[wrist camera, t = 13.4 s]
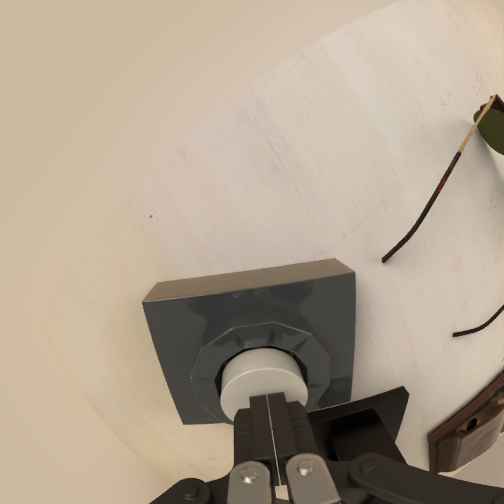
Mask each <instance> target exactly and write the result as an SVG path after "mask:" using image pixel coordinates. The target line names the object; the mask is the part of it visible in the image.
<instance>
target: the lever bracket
mask: <svg viewBox="0 0 504 504" xmlns="http://www.w3.org/2000/svg"><path fill="white" fill-rule="evenodd" d="M408 398H409V393H408V391H407V390H406V389H405V388H404V386H402V387H399V388H396V389H393V390H390V391H388V392H385V393H382V394H378V395H375V396H372V397H369V398H366V399H362V400H359V401H355V402H352V403H348V404H344V405H340V406H336V407H332V408H328V409H324V410H319V411H315V412H310V413H307V416H308V419H309V422H310V425H311V429H312V432H313V435H314V438H315V442H316V445H317V448H318V451H319V453H320V454H321V455H322V456H323V457H324V458H326V459H328V460H331V461H352V460H353V459H354V458H355V457H357V456H359V455H361V454H364V453H377V454H380V455H382V456H385V457H388V458H390V459H393V460H396V461H398V462H401V463H404V464H407V463H406V461H405V459H404V458H403V456H402V454H401V452H400V451H399V449H398V447H397V446H396V444H395V440H396V438H397V435H398V432H399V429H400V425H401V422H402V419H403V416H404V412H405V409H406V405H407V402H408ZM407 465H408V464H407Z"/></svg>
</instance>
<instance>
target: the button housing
mask: <svg viewBox="0 0 504 504" xmlns="http://www.w3.org/2000/svg"><path fill="white" fill-rule="evenodd" d="M142 305H143V309H144V312H145V316H146V320H147V323H148V327H149V330H150V333H151V337H152V340H153V343H154V346H155V350H156V353H157V356H158V359H159V362H160V365H161V368H162V371H163V374H164V376H165V379H166V382H167V385H168V387H169V390H170V393H171V395H172V398H173V401H174V403H175V406H176V408H177V411H178V413H179V416H180V418H181V420H182V423H183V425H193V424H215V423H227V424H231V425H234V422H233V421H232V420H230V419H229V418H228V417H227V416H226V414H225V413H224V411H223V410H222V407H221V381H222V374H223V371H224V369H225V367H226V366H227V364H228V363H229V362H230V361H231V360H232V359H233V358H235V357H236V356H237V355H239V354H241V353H243V352H245V351H248V350H252V349H257V348H271V349H276V350H280V351H283V352H285V353H287V354H288V355H290V356H291V357H292V358H293V359H294V360H295V361H296V362H297V363H298V365H299V367H300V370H301V373H302V376H303V378H304V381H305V384H306V387H307V390H308V399H307V403H306V405H305V409H306V413H308V412H309V411H312V410H316V409H321V408H325V407H329V406H334V405H338V404H342V403H345V402H349V401H350V399H351V389H352V377H353V363H354V346H355V315H356V279H355V272H354V271H353V270H351V269H350V268H349V267H347V266H346V265H344V264H343V263H341V262H340V261H338V260H337V259H336V258H333V259H326V260H320V261H313V262H306V263H299V264H293V265H286V266H279V267H272V268H265V269H257V270H250V271H243V272H236V273H228V274H221V275H213V276H206V277H198V278H190V279H182V280H174V281H166V282H158V283H157V284H156V285H155V286H154V287H153V288H152V290H151V291H150V292H149V293H148V295H147V296H146V297H145V298H144V299H143V301H142Z"/></svg>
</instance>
